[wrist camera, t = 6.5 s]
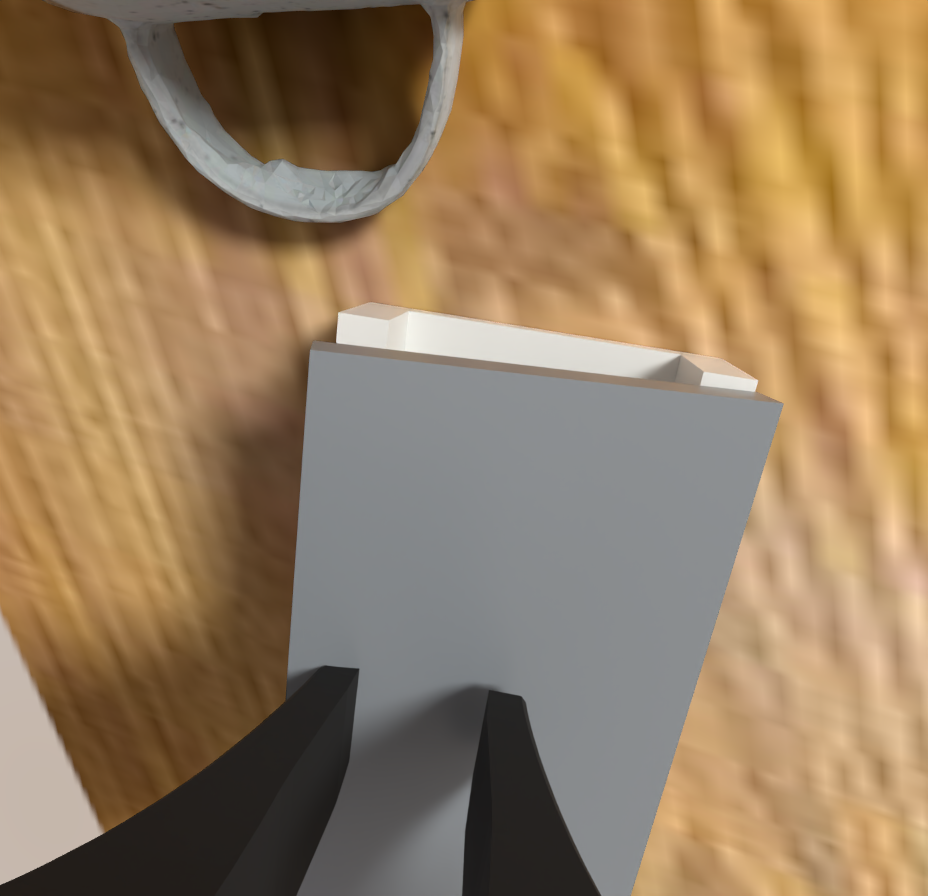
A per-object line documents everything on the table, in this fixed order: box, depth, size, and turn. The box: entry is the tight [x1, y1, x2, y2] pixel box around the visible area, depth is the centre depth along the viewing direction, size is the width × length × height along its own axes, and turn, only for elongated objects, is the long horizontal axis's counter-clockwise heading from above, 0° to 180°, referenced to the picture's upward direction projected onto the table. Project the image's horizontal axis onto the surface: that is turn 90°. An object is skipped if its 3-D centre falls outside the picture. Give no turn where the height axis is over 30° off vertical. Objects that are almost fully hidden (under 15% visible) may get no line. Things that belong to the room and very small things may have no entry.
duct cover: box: [286, 341, 783, 896], centre depth 13 cm, size 14×8×1 cm, turn 172°
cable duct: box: [336, 302, 758, 392], centre depth 15 cm, size 14×8×2 cm, turn 172°
